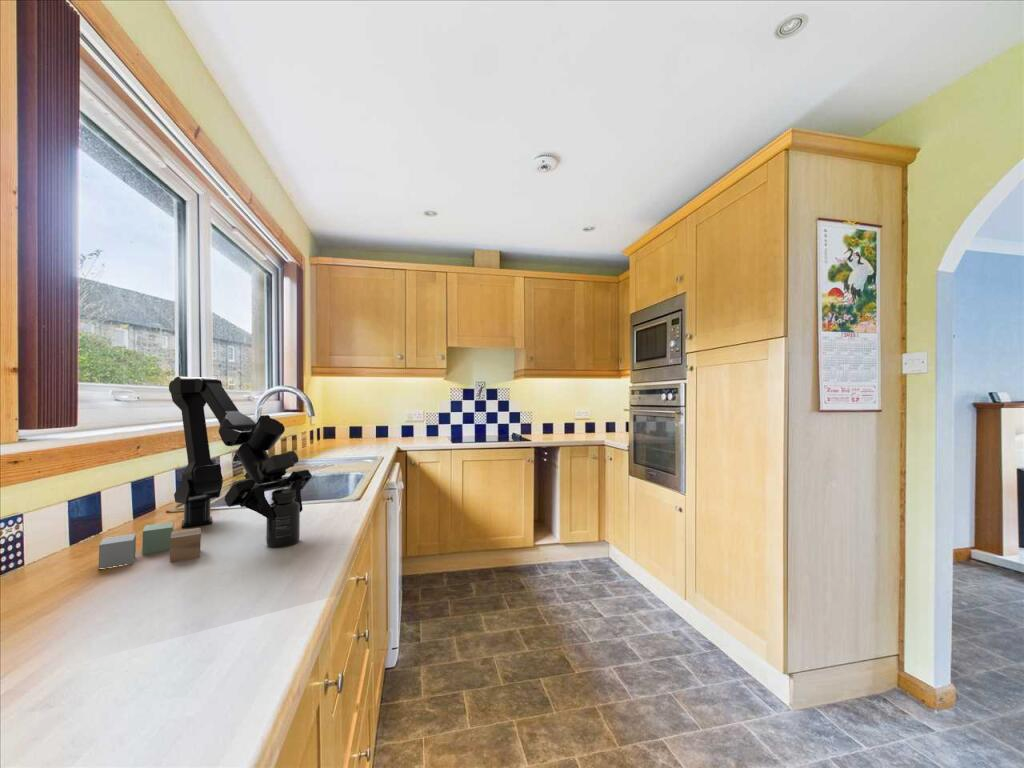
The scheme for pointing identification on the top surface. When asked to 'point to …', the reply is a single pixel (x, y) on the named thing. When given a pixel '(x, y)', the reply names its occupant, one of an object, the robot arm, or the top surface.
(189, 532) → the walnut block
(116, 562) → the slate grey block
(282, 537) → the supplement bottle
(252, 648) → the top surface
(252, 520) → the top surface
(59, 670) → the top surface
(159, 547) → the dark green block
